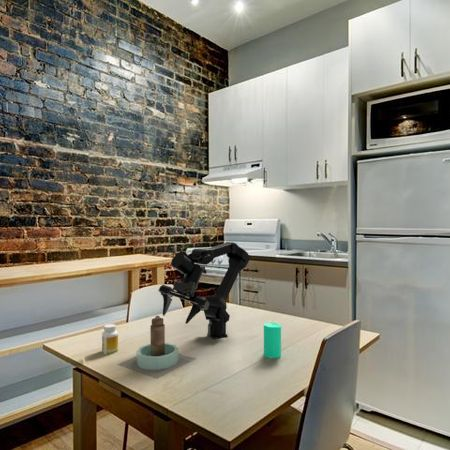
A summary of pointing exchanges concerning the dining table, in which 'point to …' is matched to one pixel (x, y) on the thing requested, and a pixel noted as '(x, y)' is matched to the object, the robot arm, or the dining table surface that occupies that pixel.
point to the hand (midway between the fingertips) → (174, 319)
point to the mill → (157, 337)
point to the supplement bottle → (109, 339)
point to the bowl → (157, 357)
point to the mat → (156, 373)
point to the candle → (272, 340)
